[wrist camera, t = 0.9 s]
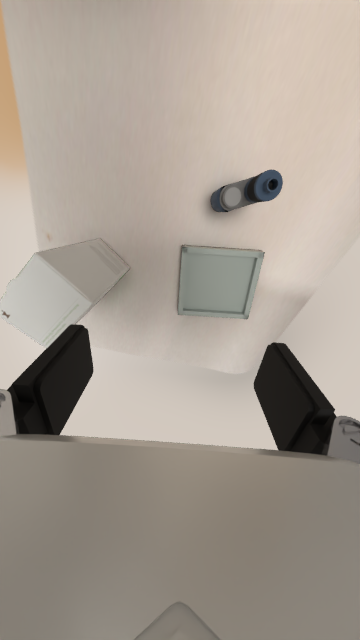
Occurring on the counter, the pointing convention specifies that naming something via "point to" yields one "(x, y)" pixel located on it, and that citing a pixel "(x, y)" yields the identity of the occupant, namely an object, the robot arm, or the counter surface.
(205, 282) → the tray
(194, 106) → the counter surface
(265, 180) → the vaping device
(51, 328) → the skincare box
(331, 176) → the counter surface
